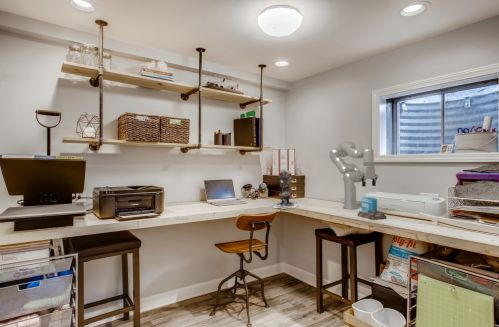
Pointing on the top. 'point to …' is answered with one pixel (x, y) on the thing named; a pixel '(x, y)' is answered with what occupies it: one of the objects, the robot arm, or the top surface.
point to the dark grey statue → (285, 191)
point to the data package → (368, 204)
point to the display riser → (371, 215)
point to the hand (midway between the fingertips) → (368, 186)
